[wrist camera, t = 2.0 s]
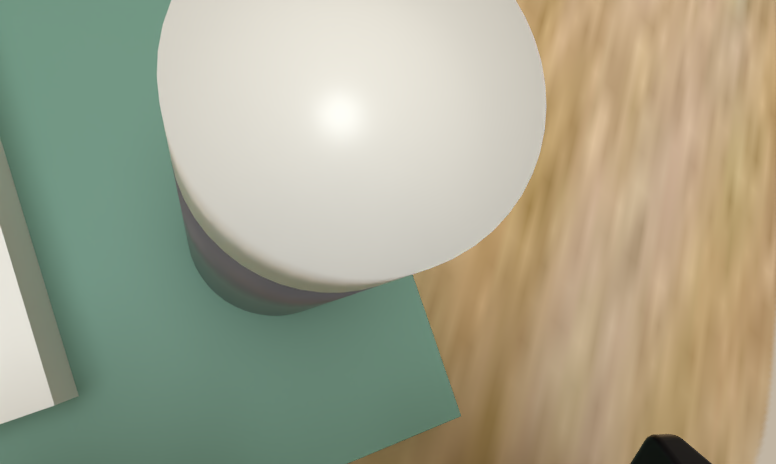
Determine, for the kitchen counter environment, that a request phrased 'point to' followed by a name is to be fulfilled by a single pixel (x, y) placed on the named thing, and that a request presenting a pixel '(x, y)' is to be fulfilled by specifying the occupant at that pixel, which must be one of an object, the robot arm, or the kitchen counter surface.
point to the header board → (162, 285)
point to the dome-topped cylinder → (344, 138)
